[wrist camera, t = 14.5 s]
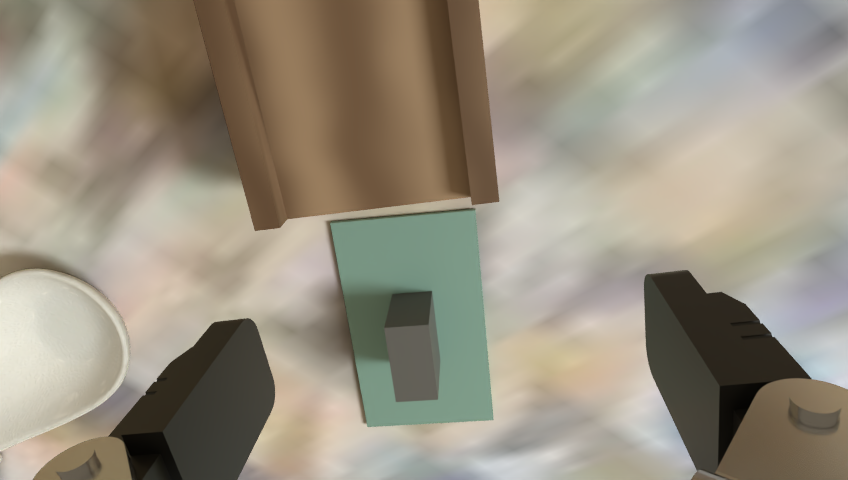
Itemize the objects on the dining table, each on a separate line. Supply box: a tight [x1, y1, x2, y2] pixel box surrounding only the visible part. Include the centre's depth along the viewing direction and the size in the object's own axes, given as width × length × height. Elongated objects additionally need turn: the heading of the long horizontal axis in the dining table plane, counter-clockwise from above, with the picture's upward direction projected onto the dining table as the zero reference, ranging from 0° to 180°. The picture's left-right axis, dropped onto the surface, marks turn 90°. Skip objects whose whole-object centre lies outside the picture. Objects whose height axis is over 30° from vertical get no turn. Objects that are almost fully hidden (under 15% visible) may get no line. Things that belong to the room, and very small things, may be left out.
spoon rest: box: [0, 269, 130, 463], centre depth 45 cm, size 24×12×7 cm, turn 138°
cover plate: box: [330, 209, 493, 427], centre depth 42 cm, size 10×18×6 cm, turn 7°
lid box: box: [194, 0, 499, 231], centre depth 33 cm, size 14×20×8 cm
